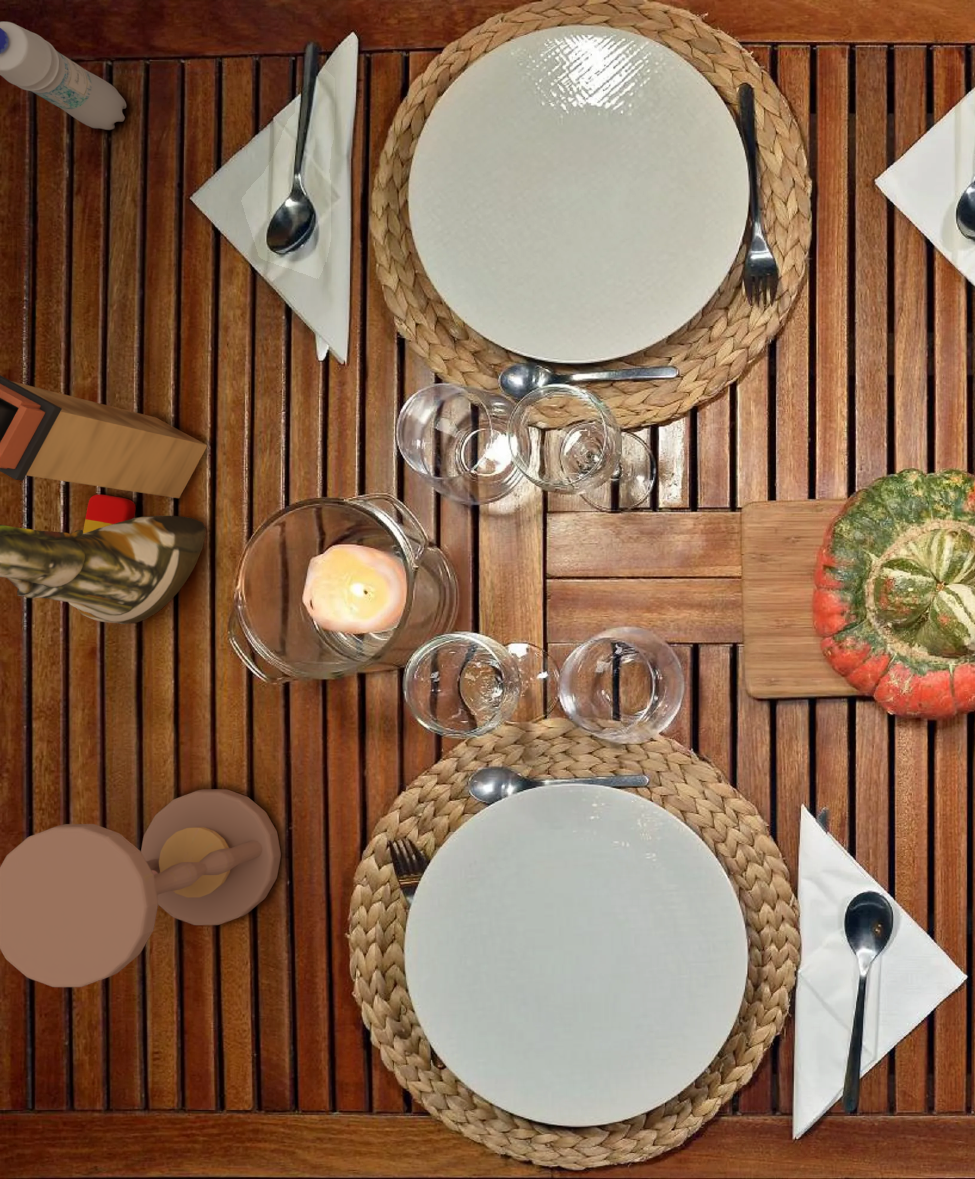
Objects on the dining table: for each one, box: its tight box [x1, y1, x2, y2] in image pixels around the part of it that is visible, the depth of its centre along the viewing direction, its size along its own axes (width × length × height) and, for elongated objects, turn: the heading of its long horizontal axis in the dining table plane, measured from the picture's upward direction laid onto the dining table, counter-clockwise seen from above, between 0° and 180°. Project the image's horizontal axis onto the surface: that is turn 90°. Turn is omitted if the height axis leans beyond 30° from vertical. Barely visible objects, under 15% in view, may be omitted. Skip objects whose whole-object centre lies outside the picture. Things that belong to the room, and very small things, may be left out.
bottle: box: [0, 21, 127, 131], centre depth 133 cm, size 7×7×20 cm
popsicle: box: [82, 493, 137, 533], centre depth 141 cm, size 6×15×2 cm, turn 170°
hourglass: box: [0, 788, 282, 988], centre depth 128 cm, size 18×18×25 cm
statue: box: [0, 514, 207, 625], centre depth 124 cm, size 16×11×35 cm, turn 142°
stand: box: [11, 380, 208, 499], centre depth 130 cm, size 8×8×25 cm
